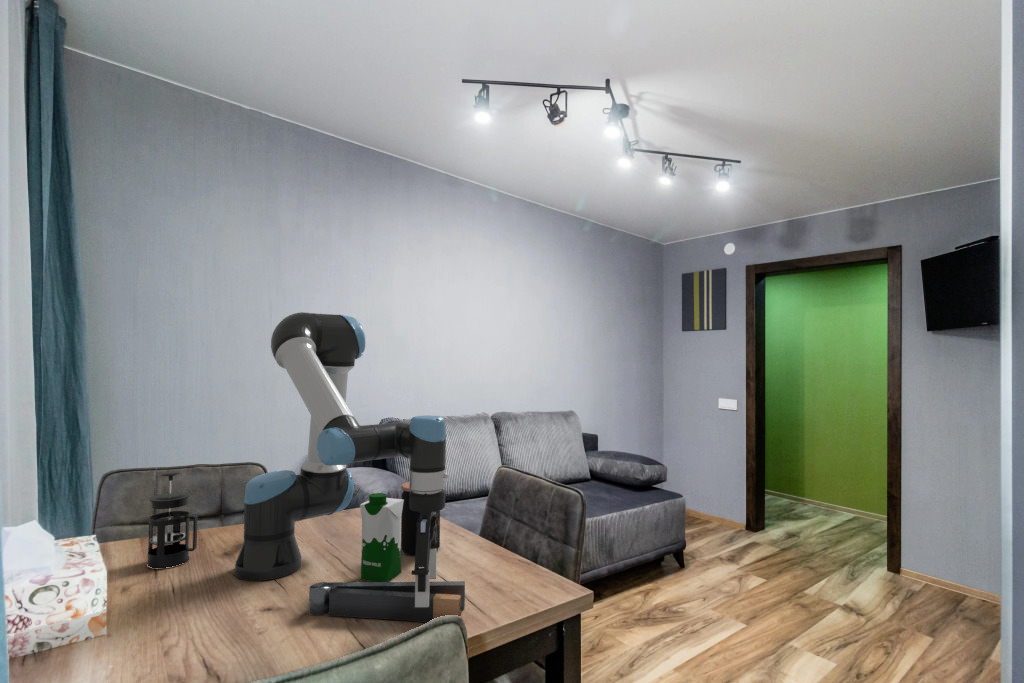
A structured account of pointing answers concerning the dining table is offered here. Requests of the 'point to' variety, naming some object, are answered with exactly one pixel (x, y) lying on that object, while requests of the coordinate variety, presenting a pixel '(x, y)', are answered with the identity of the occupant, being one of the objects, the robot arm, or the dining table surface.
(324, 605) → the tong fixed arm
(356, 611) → the arm
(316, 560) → the dining table surface
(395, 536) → the milk carton
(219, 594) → the dining table surface
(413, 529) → the coffee jar
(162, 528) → the french press
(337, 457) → the robot arm
